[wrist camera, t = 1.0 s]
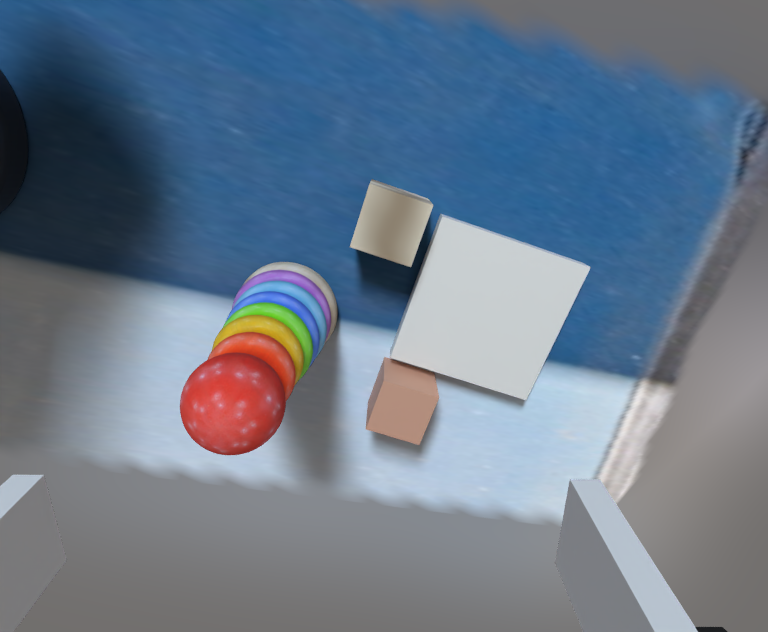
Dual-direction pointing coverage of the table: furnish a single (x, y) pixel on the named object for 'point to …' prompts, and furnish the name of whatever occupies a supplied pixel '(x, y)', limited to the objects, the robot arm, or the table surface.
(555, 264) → the white square slab
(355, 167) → the table surface
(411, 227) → the birch block
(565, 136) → the table surface
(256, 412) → the stacking toy
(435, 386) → the terracotta block
